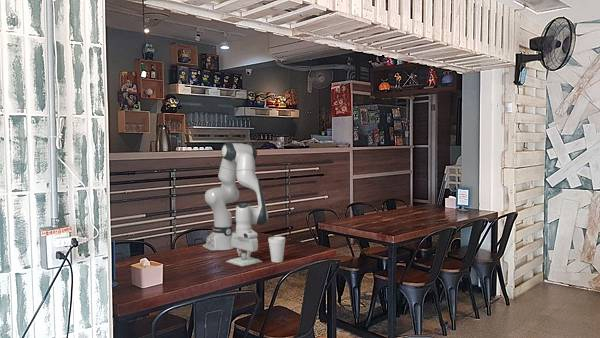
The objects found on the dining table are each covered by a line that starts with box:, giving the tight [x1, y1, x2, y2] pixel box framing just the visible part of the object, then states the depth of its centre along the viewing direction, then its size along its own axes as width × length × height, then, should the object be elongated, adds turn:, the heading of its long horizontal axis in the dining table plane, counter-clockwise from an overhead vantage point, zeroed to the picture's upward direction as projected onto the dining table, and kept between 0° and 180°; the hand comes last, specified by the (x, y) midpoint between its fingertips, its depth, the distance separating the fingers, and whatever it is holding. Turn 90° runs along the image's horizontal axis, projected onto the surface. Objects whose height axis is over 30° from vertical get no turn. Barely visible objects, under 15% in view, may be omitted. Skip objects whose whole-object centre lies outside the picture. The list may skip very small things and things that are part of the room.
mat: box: [225, 259, 263, 267], centre depth 276 cm, size 15×14×1 cm
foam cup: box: [267, 236, 286, 263], centre depth 277 cm, size 10×9×13 cm
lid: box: [228, 252, 260, 265], centre depth 276 cm, size 12×12×4 cm
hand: (244, 257), depth 276 cm, fingers open, 5 cm apart
